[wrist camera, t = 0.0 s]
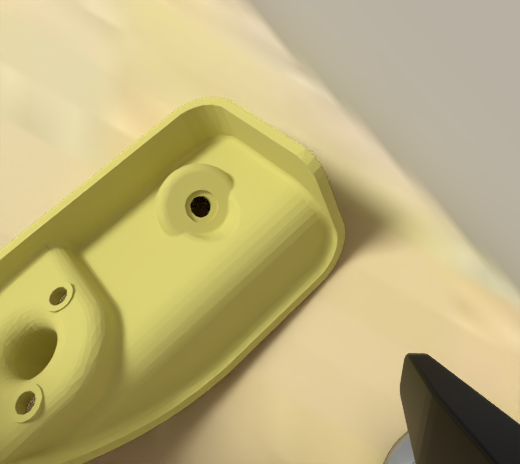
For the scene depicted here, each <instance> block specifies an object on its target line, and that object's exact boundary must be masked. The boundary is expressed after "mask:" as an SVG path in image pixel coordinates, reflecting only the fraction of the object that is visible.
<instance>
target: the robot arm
mask: <svg viewBox="0 0 520 464" xmlns="http://www.w3.org/2000/svg"><path fill="white" fill-rule="evenodd" d="M400 396H401V401H402V405H403V410H404V414H405V419H406V423H407V428H408V433H409V437H410V442H411V446H412V451H413V455H414V459H415V464H520V424H519V423H517V422H516V421H515V420H513V419H512V418H511V417H509V416H508V415H507V414H506V413H504V412H503V411H502V410H500V409H499V408H498V407H496V406H495V405H494V404H492V403H491V402H490V401H488V400H487V399H486V398H485V397H483V396H482V395H481V394H479V393H478V392H477V391H475V390H474V389H473V388H471V387H470V386H469V385H467V384H466V383H465V382H464V381H462V380H461V379H460V378H458V377H457V376H456V375H454V374H453V373H452V372H450V371H449V370H448V369H446V368H445V367H444V366H443V365H441V364H440V363H439V362H437V361H436V360H435V359H433V358H432V357H431V356H429V355H428V354H424V353H408V354H407V355H406V356H405V359H404V364H403V370H402V376H401V382H400Z"/></svg>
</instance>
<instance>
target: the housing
mask: <svg viewBox="0 0 520 464" xmlns="http://www.w3.org/2000/svg"><path fill="white" fill-rule="evenodd" d="M384 464H415V459H414V455H413V451H412V446H411V442H410V437H409V433H408V432H406V433H405V434H404V435H403V436H402V437H401V438H399V440H398V441H397V442H396V443H395V444H394V445H393V447H392V448H391V450H390V452H389V453H388V455H387V457H386V459H385V461H384Z"/></svg>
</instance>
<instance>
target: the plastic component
mask: <svg viewBox="0 0 520 464" xmlns="http://www.w3.org/2000/svg"><path fill="white" fill-rule="evenodd" d="M202 196H203V197H204V198H206V199H207V200H208V201H209V203H210V211H209V213H208V215H206V216H204V217H202V218H200V217H197V216H195V215H194V214H193V213H192V212H191V207H190V204H191V202H192V200H193V198H195V197H202ZM344 240H345V225H344V223H343V220H342V217H341V214H340V212H339V209H338V206H337V203H336V201H335V198H334V195H333V192H332V189H331V187H330V184H329V181H328V178H327V176H326V173H325V171H324V169H323V167H322V165H321V164H320V163H319V161H318V160H317V159H316V157H315V156H314V155H313V154H312V153H311V152H310V151H309V150H308V149H307V148H305V147H304V146H302V145H300V144H299V143H297V142H296V141H294V140H293V139H291V138H289V137H288V136H286V135H285V134H283V133H281V132H280V131H278V130H277V129H275V128H274V127H272V126H270V125H269V124H267V123H266V122H264V121H262V120H261V119H259V118H258V117H256V116H255V115H253V114H251V113H250V112H248V111H247V110H245V109H243V108H242V107H240V106H239V105H237V104H235V103H234V102H232V101H231V100H228V99H225V98H220V97H208V98H201V99H198V100H194V101H191V102H189V103H187V104H184V105H183V106H181V107H179V108H178V109H176V110H175V111H173V112H172V113H171V114H170V115H168V116H167V117H166V118H165V119H163V120H162V121H161V122H160V123H158V124H157V125H156V126H155V127H153V128H152V129H151V130H150V131H148V132H147V133H146V134H145V135H143V136H142V137H141V138H140V139H138V140H137V141H136V142H135V143H133V144H132V145H131V146H130V147H128V148H127V149H126V150H125V151H123V152H122V153H121V154H120V155H118V156H117V157H116V158H115V159H113V160H112V161H111V162H110V163H108V164H107V165H106V166H105V167H103V168H102V169H101V170H100V171H98V172H97V173H96V174H95V175H93V176H92V177H91V178H90V179H88V180H87V181H86V182H85V183H83V184H82V185H81V186H80V187H78V188H77V189H76V190H75V191H73V192H72V193H71V194H70V195H68V196H67V197H66V198H65V199H63V200H62V201H61V202H60V203H58V204H57V205H56V206H55V207H53V208H52V209H51V210H50V211H48V212H47V213H46V214H45V215H43V216H42V217H41V218H40V219H38V220H37V221H36V222H35V223H33V224H32V225H31V226H30V227H28V228H27V229H26V230H25V231H23V232H22V233H21V234H20V235H18V236H17V237H16V238H15V239H13V240H12V241H11V242H10V243H9V244H7V245H6V246H5V247H4V248H3V249H1V250H0V464H83V463H85V462H88V461H90V460H92V459H94V458H97V457H99V456H101V455H103V454H105V453H108V452H110V451H112V450H114V449H116V448H118V447H120V446H122V445H124V444H126V443H128V442H130V441H132V440H134V439H135V438H137V437H139V436H141V435H143V434H144V433H146V432H148V431H149V430H151V429H153V428H154V427H156V426H158V425H160V424H161V423H163V422H165V421H166V420H168V419H169V418H171V417H172V416H174V415H175V414H177V413H178V412H179V411H181V410H182V409H184V408H185V407H187V406H188V405H190V404H191V403H192V402H194V401H195V400H196V399H198V398H199V397H200V396H201V395H203V394H204V393H205V392H207V391H208V390H209V389H210V388H212V387H213V386H214V385H215V384H216V383H218V382H219V381H220V380H221V379H222V378H224V377H225V376H226V375H227V374H228V373H229V372H230V371H231V370H233V369H234V368H235V367H236V366H237V365H238V364H239V363H240V362H241V361H242V360H243V359H244V358H245V357H246V356H247V355H248V354H249V353H250V352H251V351H252V350H253V349H254V348H255V347H256V346H257V345H258V344H259V343H260V342H261V341H262V340H263V339H264V338H265V337H266V336H267V335H268V334H269V333H270V332H271V331H272V330H273V329H275V328H276V327H277V326H278V325H279V324H280V323H281V322H282V321H283V320H284V319H285V318H286V317H287V316H288V315H289V314H290V313H291V312H292V311H293V310H294V309H295V308H296V307H297V306H298V305H299V304H300V303H301V302H302V301H303V300H304V299H305V298H306V297H307V296H308V295H309V294H310V293H311V292H312V291H313V290H314V289H316V288H317V287H318V286H319V285H320V284H321V283H322V282H323V281H324V280H325V279H326V278H327V277H328V275H329V274H330V272H331V271H332V270H333V268H334V267H335V265H336V263H337V261H338V259H339V257H340V255H341V252H342V249H343V246H344ZM66 293H67V296H66V298H65V299H64V301H63V302H62V303H60V304H59V300H60V299H61V297H62V296H63V295H65V294H66ZM58 304H59V305H58ZM34 396H35V398H36V400H35V404H34V406H33V407H32V409H31V410H30V412H28V413H27V405H28V403H29V401H30V400H31V399H32V398H33V397H34Z"/></svg>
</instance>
